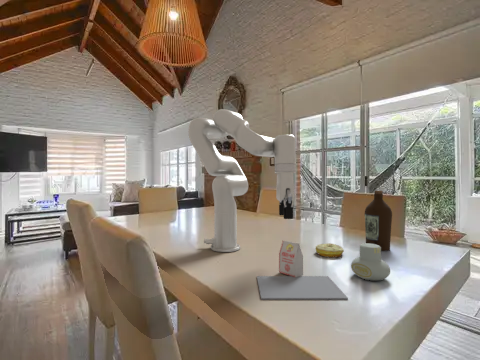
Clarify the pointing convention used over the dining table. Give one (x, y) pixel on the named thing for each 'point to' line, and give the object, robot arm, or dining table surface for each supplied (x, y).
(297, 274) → the white paper carton
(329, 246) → the decorated donut
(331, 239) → the dining table surface
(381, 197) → the olive oil
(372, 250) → the air freshener
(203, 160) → the robot arm
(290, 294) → the mat
